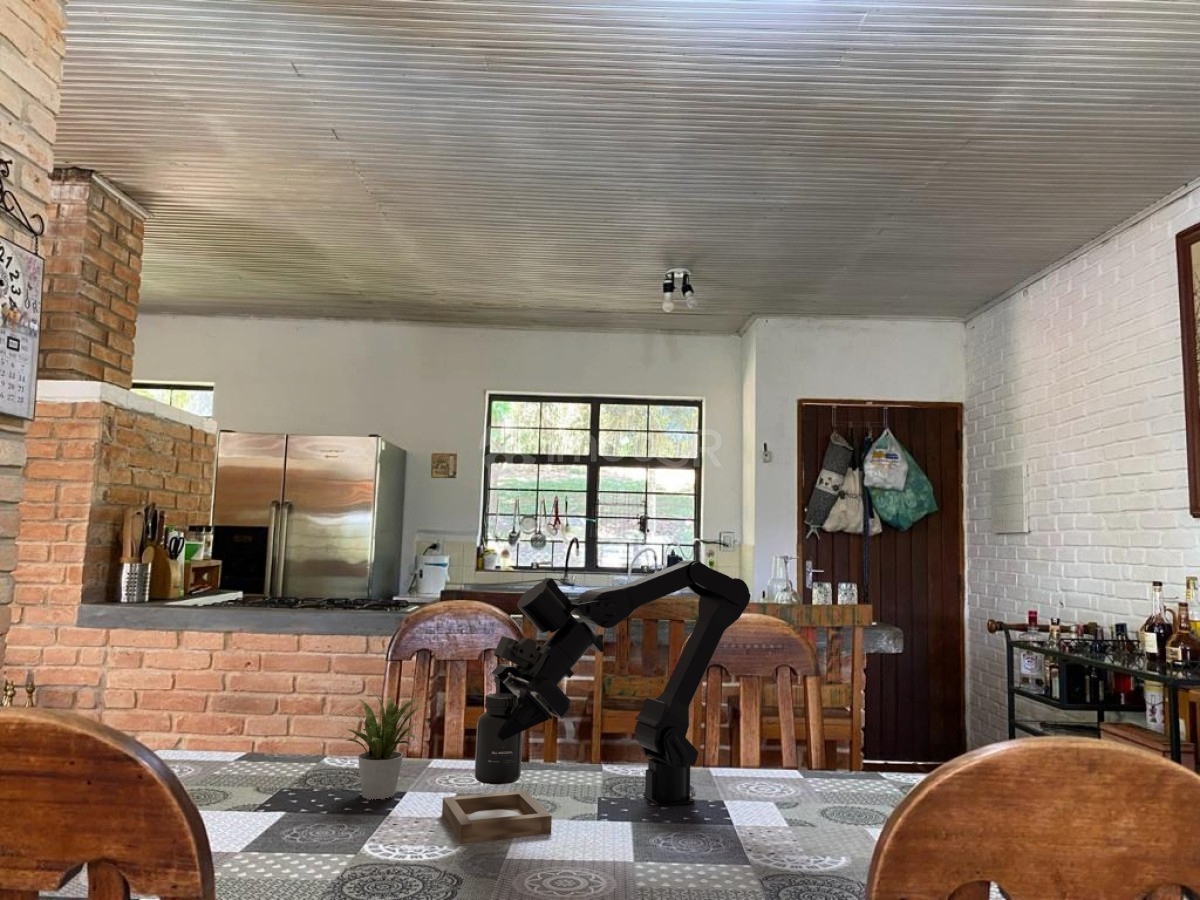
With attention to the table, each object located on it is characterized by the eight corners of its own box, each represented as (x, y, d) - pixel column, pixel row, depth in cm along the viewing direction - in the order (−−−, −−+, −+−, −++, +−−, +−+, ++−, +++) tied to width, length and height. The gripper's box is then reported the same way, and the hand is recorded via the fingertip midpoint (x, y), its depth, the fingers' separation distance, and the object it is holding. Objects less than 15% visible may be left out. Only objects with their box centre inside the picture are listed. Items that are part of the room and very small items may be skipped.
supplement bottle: (496, 788, 112) (499, 701, 114) (464, 779, 117) (468, 695, 118) (530, 778, 118) (533, 695, 119) (499, 770, 122) (501, 689, 124)
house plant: (444, 786, 134) (449, 686, 137) (411, 811, 121) (417, 700, 123) (365, 780, 137) (372, 682, 139) (324, 803, 123) (332, 695, 126)
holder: (524, 806, 125) (525, 790, 125) (551, 833, 113) (551, 815, 113) (442, 814, 120) (442, 797, 120) (460, 843, 108) (461, 824, 108)
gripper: (505, 613, 130) (436, 686, 124) (552, 622, 114) (476, 707, 107) (547, 660, 133) (482, 734, 126) (600, 675, 117) (528, 762, 110)
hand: (491, 733), depth 117 cm, fingers closed on supplement bottle, 7 cm apart
